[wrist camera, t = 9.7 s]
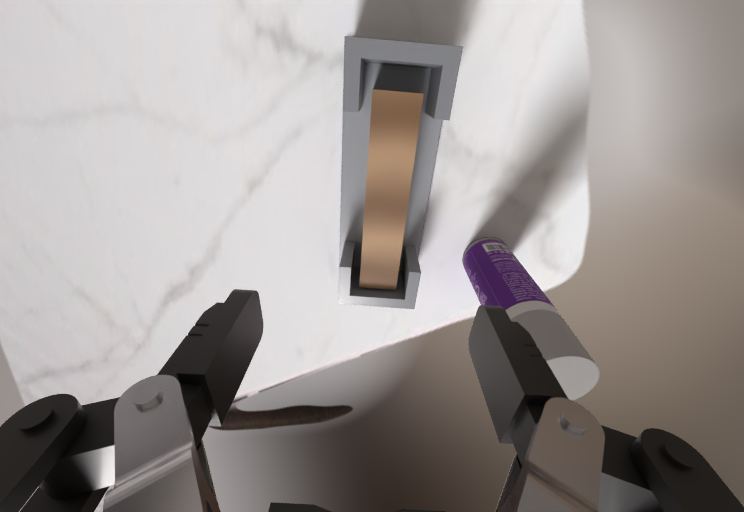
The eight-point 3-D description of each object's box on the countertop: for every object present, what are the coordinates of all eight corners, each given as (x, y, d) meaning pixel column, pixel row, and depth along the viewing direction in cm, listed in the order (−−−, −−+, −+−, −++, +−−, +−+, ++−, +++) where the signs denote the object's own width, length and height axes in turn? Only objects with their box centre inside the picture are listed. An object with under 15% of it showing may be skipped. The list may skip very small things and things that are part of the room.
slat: (373, 88, 23) (372, 89, 20) (417, 92, 23) (423, 93, 20) (361, 264, 31) (359, 287, 28) (394, 266, 31) (395, 289, 28)
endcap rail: (345, 45, 22) (336, 35, 18) (451, 54, 23) (471, 47, 18) (339, 270, 32) (332, 303, 28) (413, 276, 33) (419, 309, 28)
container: (452, 256, 31) (504, 380, 18) (491, 227, 30) (578, 341, 17) (479, 283, 33) (544, 414, 20) (517, 257, 31) (616, 382, 18)
